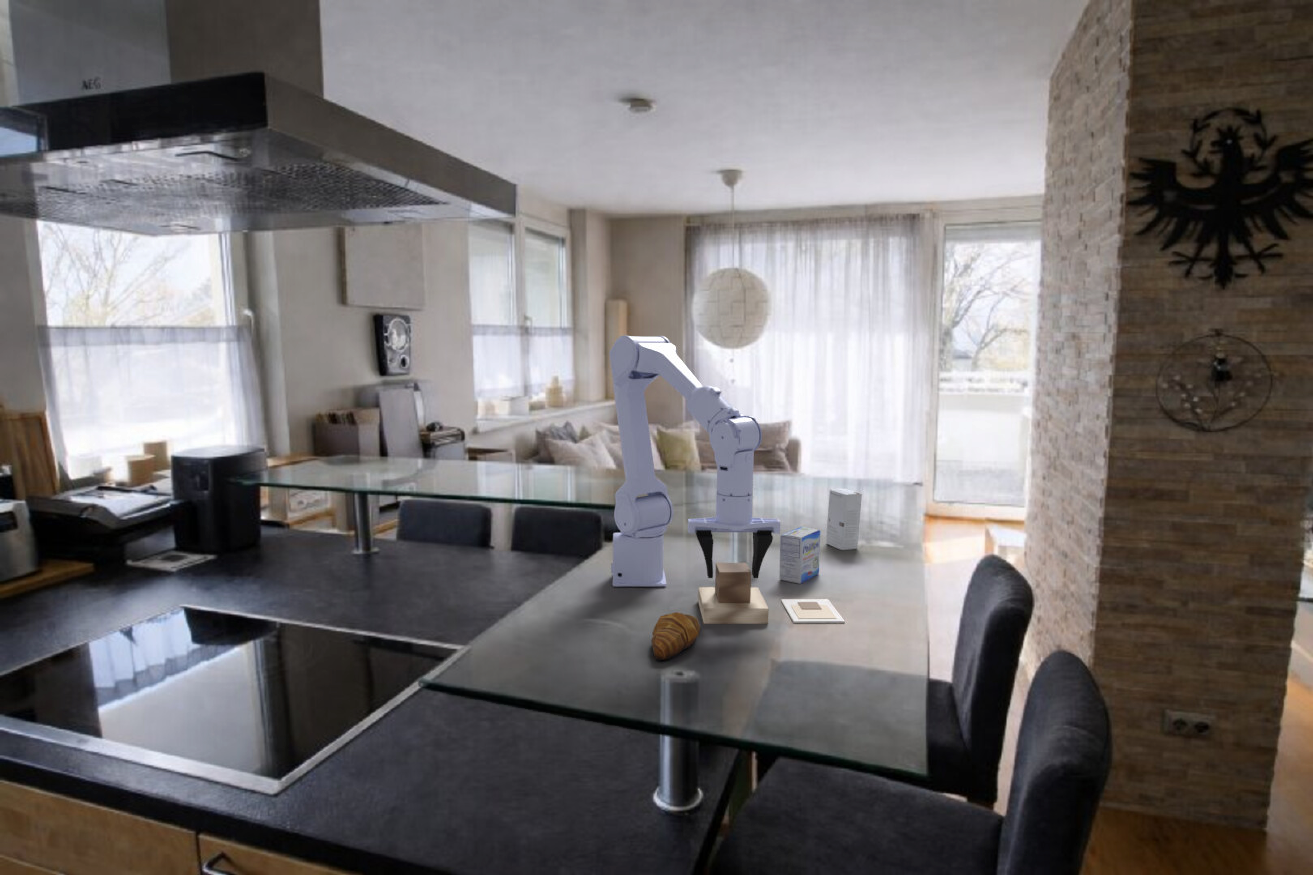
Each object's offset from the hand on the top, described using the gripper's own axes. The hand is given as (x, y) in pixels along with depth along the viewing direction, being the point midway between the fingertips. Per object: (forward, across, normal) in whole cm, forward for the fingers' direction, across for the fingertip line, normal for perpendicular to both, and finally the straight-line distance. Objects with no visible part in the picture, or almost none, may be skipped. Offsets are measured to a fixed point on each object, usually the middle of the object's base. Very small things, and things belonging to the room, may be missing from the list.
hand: (732, 576), depth 121 cm
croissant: (+6, -10, -13) cm, 18 cm away
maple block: (+6, 0, 0) cm, 6 cm away
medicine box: (+6, +15, +18) cm, 24 cm away
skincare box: (+6, +29, +39) cm, 49 cm away
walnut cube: (+3, 0, 0) cm, 4 cm away
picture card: (+6, +13, 0) cm, 14 cm away
